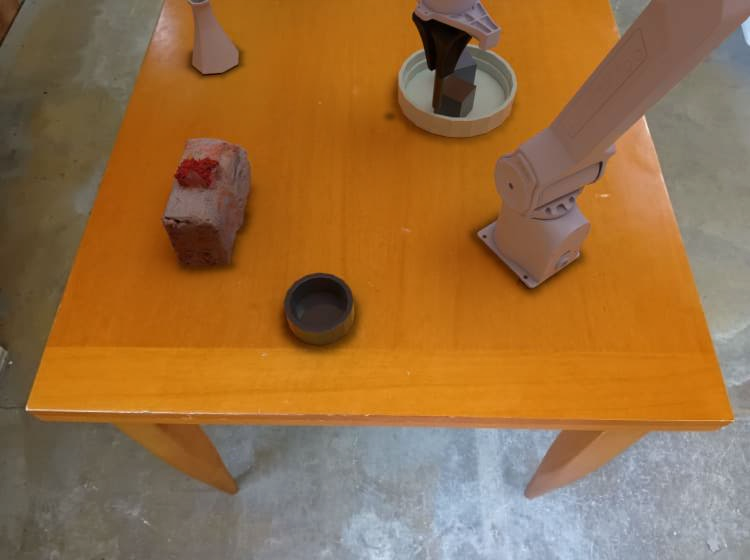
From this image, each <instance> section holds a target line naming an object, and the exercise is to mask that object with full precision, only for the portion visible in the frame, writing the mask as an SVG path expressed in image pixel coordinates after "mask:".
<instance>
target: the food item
mask: <svg viewBox="0 0 750 560" xmlns="http://www.w3.org/2000/svg"><path fill="white" fill-rule="evenodd" d="M173 177H174V178H173V183H172V186H171V189H170V190H171V191H170V194H169V196H168V199H167V200H168V201H167V204H166V205H165V210H164V212H163V215H162V217H161V218H160V221H162V226H163V228H164V230H165V231H166V234H167V236H168V239H169V241H170V244H171V247H172V248H173V251H174V253H175V254H176V256H177V262H179V263H180V264H181V265H186V266H223V265H229V264H231V262H232V261H231V260H232V254H233V250H234V248H233V247H234V243H235V240H236V238H237V233H238V231H239V230H240V229H241V227H242V226H243V225H244V217H245V210H246V207H247V205H248V203H249V202H248V201H249V200H248V197H249V195H250V192H251V181H252V166H251V162H250V160H249V159H248V152H247V150H246V149H245V148H243V146H242V145H237V144H236V143H231V142H230V141H229V142H228V141H227V140H224V139H220V138H219V139H218V138H210V137H200V138H199V137H197V138H186V140H185V144H184V150H183V152H182V154H181V157H180V160H179V163H178V166H177V169H176V172H175V173H174V174H173Z"/></svg>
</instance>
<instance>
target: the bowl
mask: <svg viewBox="0 0 750 560" xmlns="http://www.w3.org/2000/svg"><path fill="white" fill-rule="evenodd" d="M465 48H466V49H467V51H468V52H469V53H470V55H471V56H472V57H473V59H474V60H475V61H476V63H477V69H476V74H475V80H474V85H476V86H477V87H476V92H475V98H474V103H473V109H472V110H471V111H470V113H469V114H468V115H467V116H466V117H465V118H452V117H448V116H443V115H439V114H435V113H434V108H433V107H432V98H433V88H434V79H435V70H433V71H430V70H429V69H428V66H427V61H426V56H425V51H424V47H423V48H420V49H419V50H417V51H415V52H413V53H412V54H411V55H410V56H409V57H407V58H406V60H404V61H403V63H402V65H401V67H400V69H399V71H398V73H397V75H398V77H397V104H398V106H399V108H400V109H401V111H402V113H403V115H404V116H405V117H406V118H407V119H408V120H409V121H410V122H411V123H412V124H413V125H415V126H416V127H418V128H420V129H422V130H423V131H425V132H428V133H430V134H433V135H438V136H442V137H446V138H472V137H477V136H480V135H481V136H482V135H485V134H487V133H489V132H491V131H493V130H494V129H496V128H498V127H500V126H501V125H503V123H504V122H505V121H506V120H507V118H508V117H510V115H511V111H512V109H513V105H514V101H515V97H516V93H517V89H518V80H517V76H516V72H515V71H514V70H513V68H512V66H511V65H510V63H509V62H508V61H507V60H505V59H504V58H503V57H501V56H500V55H499V54H497V52H495V51H492V50H491V49H489V50H487V51H483V50H482V49H480V48H479V45H477V44H471V43H468V44H467V46H466V47H465Z"/></svg>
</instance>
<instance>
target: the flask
mask: <svg viewBox="0 0 750 560" xmlns="http://www.w3.org/2000/svg"><path fill="white" fill-rule="evenodd" d="M186 2H187V4H188V5H190V8H191V11H192V14H193V24H194V27H193V29H194V30H193V47H192V59H191V65H192V66H193V67H194V68H195V69H196V70H198V71H199V72H200V73H201V74H202V75H208V74H218V73H225V72H227V71H228V70H230V69H232V68H233V67H235V66H237V65H239V57H240V56H239V55H240V54H239V50H238V48H237V47H236V45H235V44H234V43H233V42H232V40H231V38H229V36H228V34H227V32H226V31H225V30H224V28H223V27H222V26H221V24H220V23H219V21H218V19H217V17H216V15H215V13H214V10H213V9H212V5H211V0H186Z"/></svg>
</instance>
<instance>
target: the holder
mask: <svg viewBox="0 0 750 560" xmlns="http://www.w3.org/2000/svg"><path fill="white" fill-rule="evenodd" d="M283 307H284V312H285V317H286V321H287V324H288V327H289V329H290V331H292V333H293V335H294V336H295V337H296V338H297V339H298V340H300V341H302V342H304V343H305V344H308V345H312V346H326V345H327V346H328V345H331V344H334V343H335V342H338V341H339V340H341V339H342V338H343V337H345V336H346V335H347V334H348V332H349V331H350V329H351V328H352V326H353V325H354V320H355V315H356V313H355V301H354V296H353V292H352V289H351V287H349V284H347V283H346V281H345V280H344V279H342V278H340V277H338V276H336V275H335V274H333V273H326V272H314V273H309V274H306V275H303V276H302V277H301V278H299V279H297V280H295V281H294V282H293V283H292V285H291V286H290V287H289V288H288V290H287V291H286V294H285V297H284V300H283Z"/></svg>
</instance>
